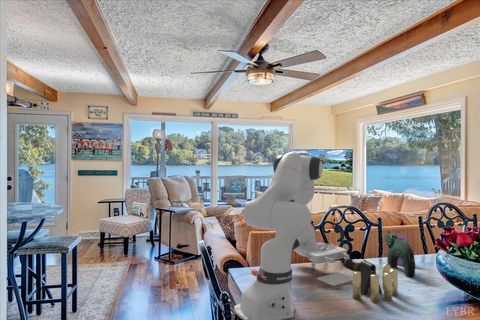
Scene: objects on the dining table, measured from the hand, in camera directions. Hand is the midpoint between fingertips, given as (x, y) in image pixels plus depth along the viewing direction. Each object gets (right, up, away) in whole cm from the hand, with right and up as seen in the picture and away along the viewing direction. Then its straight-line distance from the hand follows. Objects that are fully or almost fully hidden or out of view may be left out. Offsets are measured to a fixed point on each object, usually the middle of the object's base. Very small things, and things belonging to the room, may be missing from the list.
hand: (341, 259), depth 144 cm
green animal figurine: (+34, -10, +14) cm, 38 cm away
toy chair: (+40, -10, +27) cm, 49 cm away
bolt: (+11, -10, +16) cm, 22 cm away
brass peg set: (+10, -9, -17) cm, 22 cm away
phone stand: (+7, -10, -12) cm, 17 cm away
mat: (-1, -9, +2) cm, 10 cm away
